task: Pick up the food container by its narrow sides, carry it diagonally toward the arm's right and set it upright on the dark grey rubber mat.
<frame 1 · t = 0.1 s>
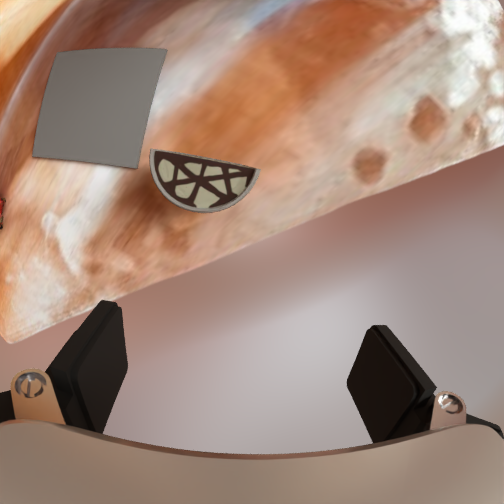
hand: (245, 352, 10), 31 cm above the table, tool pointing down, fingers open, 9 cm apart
mat: (91, 102, 33), on the table
food container: (206, 179, 38), on the table
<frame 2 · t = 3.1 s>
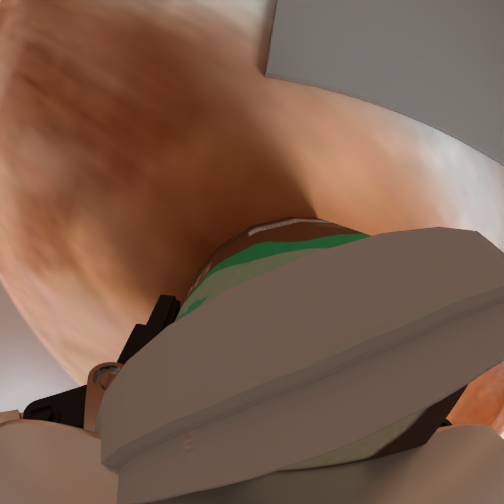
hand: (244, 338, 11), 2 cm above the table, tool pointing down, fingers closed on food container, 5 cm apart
food container: (229, 311, 13), on the table, touching gripper
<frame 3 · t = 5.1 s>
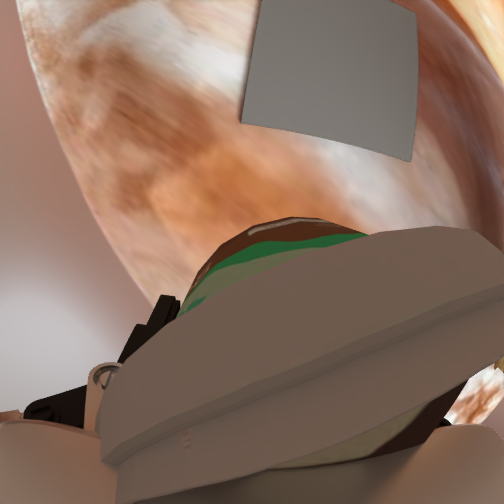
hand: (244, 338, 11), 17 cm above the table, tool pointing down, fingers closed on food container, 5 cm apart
mat: (344, 51, 22), on the table
food container: (229, 311, 13), point 15 cm above the table, touching gripper
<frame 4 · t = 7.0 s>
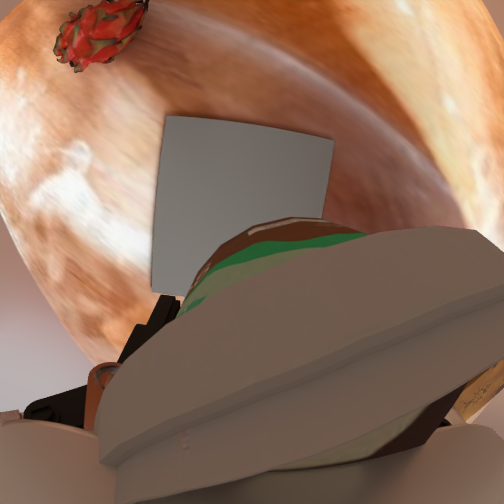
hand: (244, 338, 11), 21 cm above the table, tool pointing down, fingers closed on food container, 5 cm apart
mat: (238, 216, 31), on the table
food container: (229, 311, 13), point 19 cm above the table, touching gripper
dragon fruit: (113, 39, 23), on the table
brown flat wooden box: (464, 382, 46), on the table
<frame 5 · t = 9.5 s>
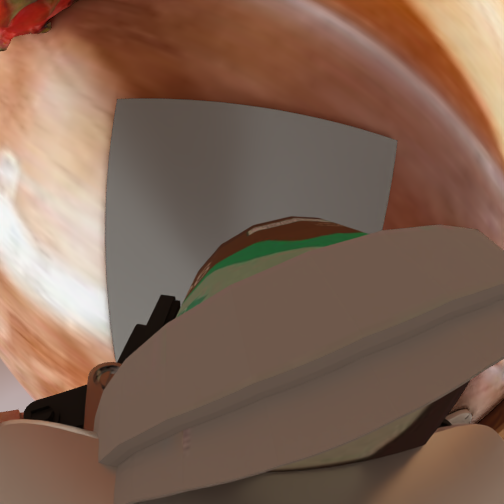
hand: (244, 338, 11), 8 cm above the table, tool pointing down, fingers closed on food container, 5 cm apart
mat: (240, 266, 18), on the table
food container: (229, 310, 13), point 6 cm above the table, touching gripper
dragon fruit: (56, 4, 11), on the table
brown flat wooden box: (494, 418, 33), on the table
when the fingers open (4 cm above the table, at t = 10.9 s): food container drops 1 cm, resting on mat.
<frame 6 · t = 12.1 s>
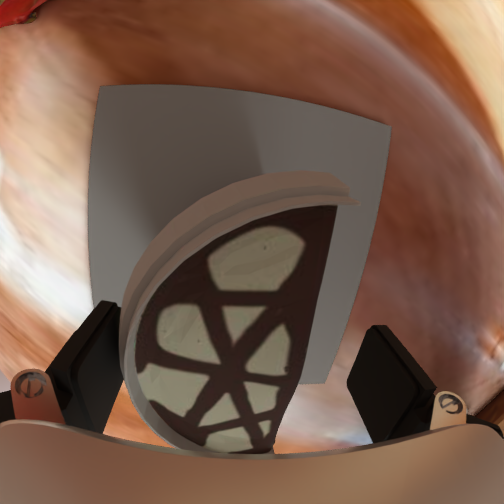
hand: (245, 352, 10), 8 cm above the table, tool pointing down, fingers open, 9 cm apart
mat: (227, 258, 18), on the table
food container: (205, 261, 17), point 1 cm above the table, touching mat
brown flat wooden box: (490, 412, 35), on the table
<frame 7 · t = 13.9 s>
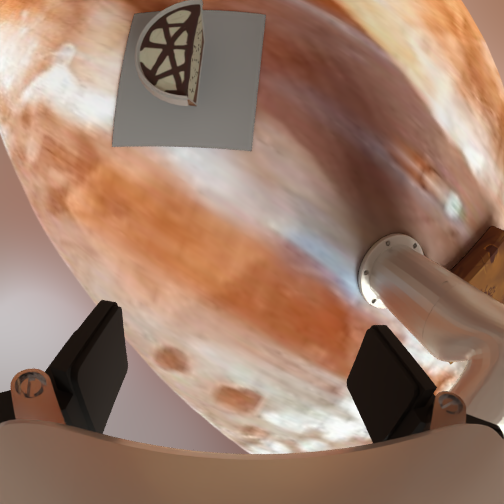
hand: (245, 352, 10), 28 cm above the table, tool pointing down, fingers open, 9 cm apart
mat: (187, 72, 30), on the table
food container: (177, 72, 30), resting on mat
brown flat wooden box: (465, 290, 47), on the table
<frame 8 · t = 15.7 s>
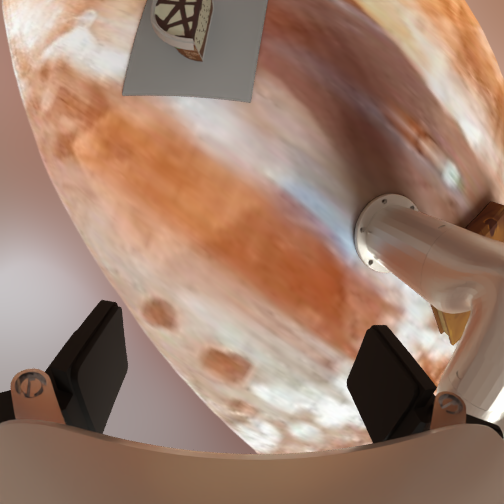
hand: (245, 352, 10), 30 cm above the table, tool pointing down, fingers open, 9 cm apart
mat: (196, 34, 30), on the table
food container: (187, 34, 30), resting on mat
brown flat wooden box: (466, 268, 45), on the table
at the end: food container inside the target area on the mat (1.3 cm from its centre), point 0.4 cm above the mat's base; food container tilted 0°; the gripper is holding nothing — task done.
